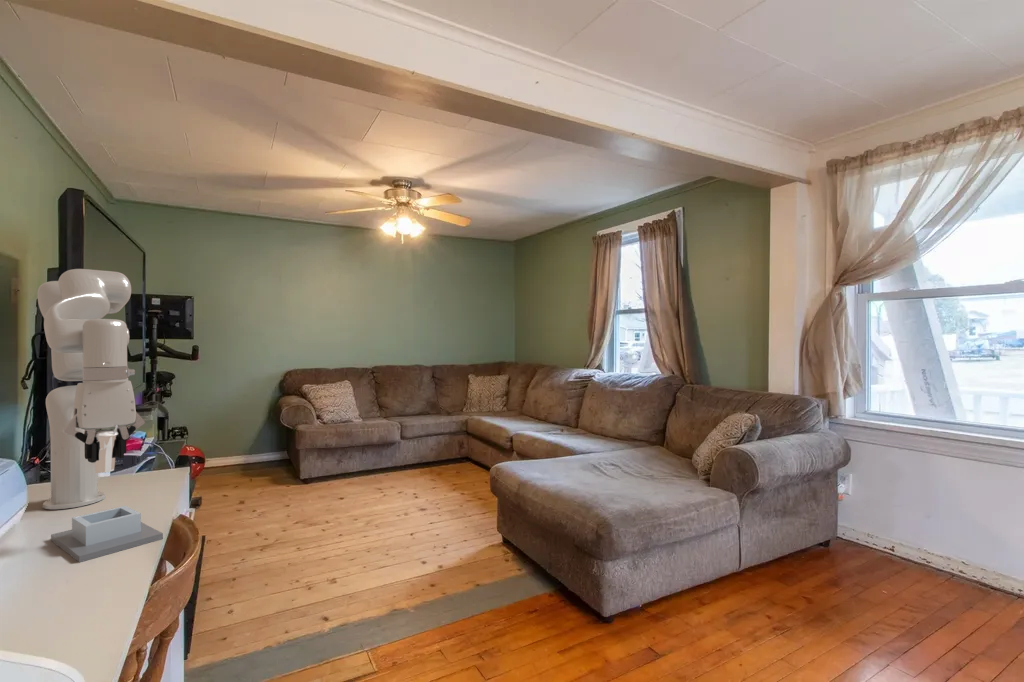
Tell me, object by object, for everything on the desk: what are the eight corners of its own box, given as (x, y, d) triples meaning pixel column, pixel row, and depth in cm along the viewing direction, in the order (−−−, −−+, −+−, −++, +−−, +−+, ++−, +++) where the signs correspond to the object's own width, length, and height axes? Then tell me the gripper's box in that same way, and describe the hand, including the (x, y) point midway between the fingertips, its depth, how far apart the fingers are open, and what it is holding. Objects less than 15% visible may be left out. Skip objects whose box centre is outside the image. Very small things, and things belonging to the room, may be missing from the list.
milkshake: (105, 474, 105) (106, 427, 105) (85, 473, 106) (86, 426, 106) (126, 469, 109) (126, 424, 109) (106, 468, 110) (107, 423, 110)
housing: (51, 540, 107) (50, 516, 107) (129, 520, 119) (128, 499, 119) (79, 562, 96) (79, 535, 96) (162, 538, 107) (162, 514, 107)
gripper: (144, 373, 117) (145, 450, 116) (49, 377, 103) (49, 465, 103) (157, 373, 112) (157, 454, 112) (59, 378, 99) (59, 470, 98)
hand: (106, 458), depth 107 cm, fingers closed on milkshake, 4 cm apart
